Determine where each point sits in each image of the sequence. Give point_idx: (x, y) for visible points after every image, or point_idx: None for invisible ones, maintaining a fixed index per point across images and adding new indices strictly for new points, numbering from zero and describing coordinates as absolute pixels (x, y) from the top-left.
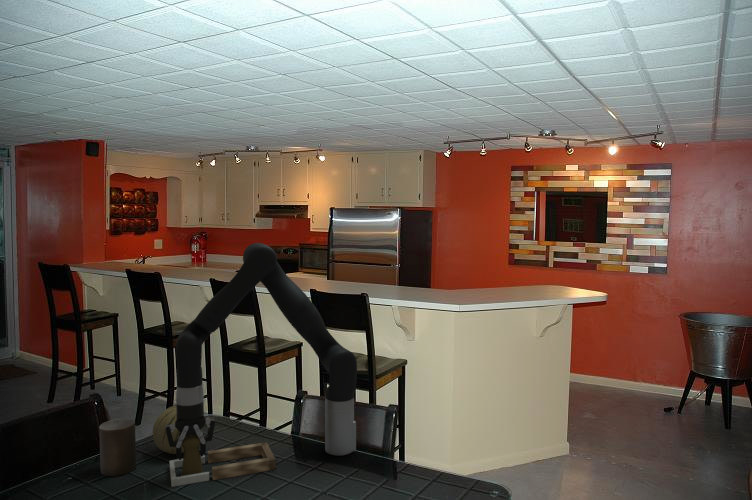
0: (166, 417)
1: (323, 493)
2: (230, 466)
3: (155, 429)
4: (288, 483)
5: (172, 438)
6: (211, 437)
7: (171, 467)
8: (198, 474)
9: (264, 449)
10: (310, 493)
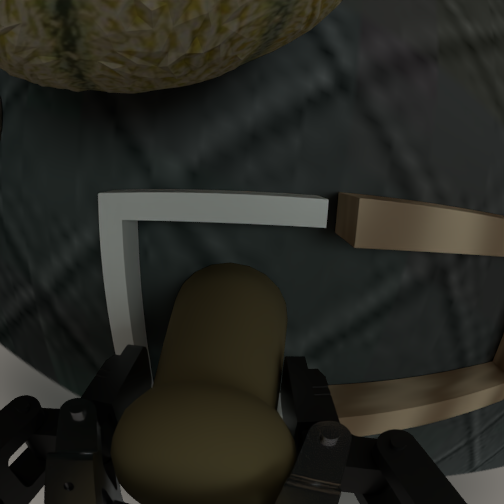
0: None
1: (470, 472)
2: (390, 428)
3: None
4: (463, 446)
5: (35, 490)
6: (385, 494)
7: (112, 297)
8: None
9: None
10: (458, 474)
